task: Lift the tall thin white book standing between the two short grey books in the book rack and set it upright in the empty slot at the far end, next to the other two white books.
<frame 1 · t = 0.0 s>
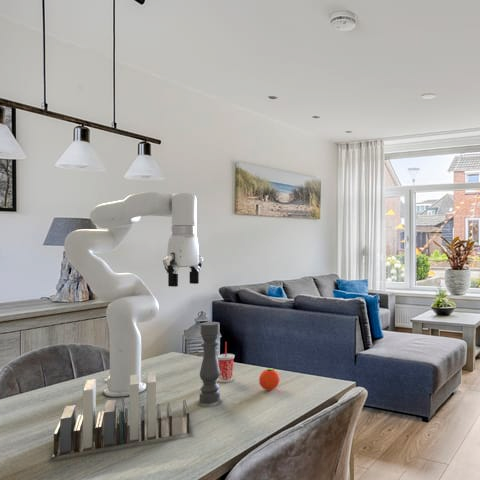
hand: (183, 284, 145), 37 cm above the table, tool pointing down, fingers open, 9 cm apart
white book b: (151, 430, 119), point 1 cm above the table, touching book rack
grey book 2: (110, 437, 114), point 1 cm above the table, touching book rack
white book a: (134, 433, 117), point 1 cm above the table, touching book rack
clementine: (269, 389, 155), on the table
grey book 1: (68, 444, 110), point 1 cm above the table, touching book rack
beverage cup: (225, 380, 164), on the table
book rack: (127, 438, 116), on the table
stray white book: (89, 440, 112), point 1 cm above the table, touching book rack
candle holder: (209, 403, 141), on the table
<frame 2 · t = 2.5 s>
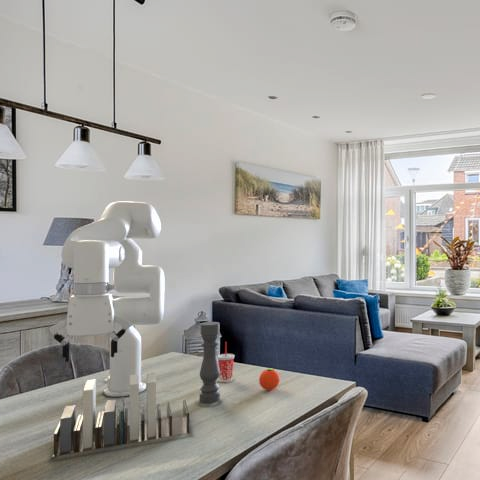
hand: (90, 358, 113), 22 cm above the table, tool pointing down, fingers open, 9 cm apart
nothing on the table moved.
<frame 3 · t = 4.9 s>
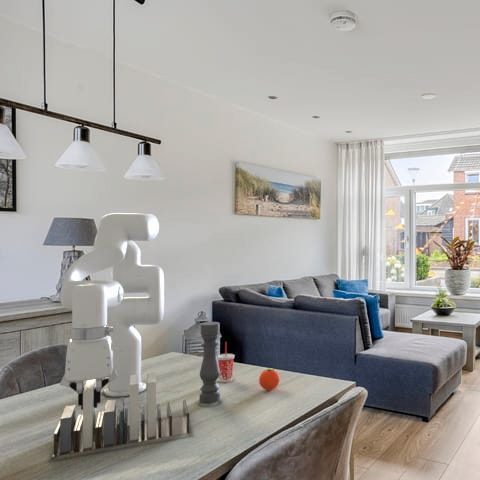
hand: (89, 406, 112), 10 cm above the table, tool pointing down, fingers closed on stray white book, 2 cm apart
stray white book: (89, 440, 112), point 1 cm above the table, touching gripper
everything else where it was.
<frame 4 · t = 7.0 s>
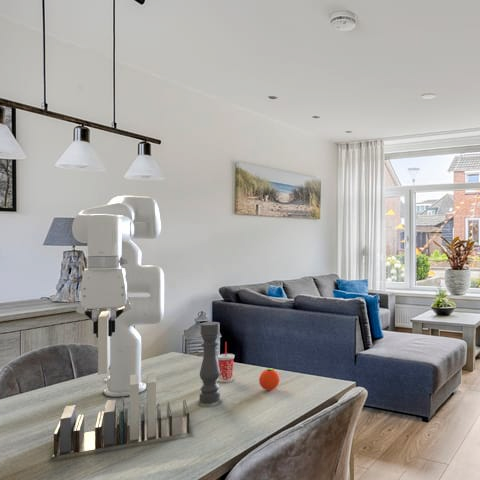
hand: (104, 335, 114), 27 cm above the table, tool pointing down, fingers closed on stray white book
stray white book: (104, 369, 114), point 18 cm above the table, touching gripper
everything else where it was.
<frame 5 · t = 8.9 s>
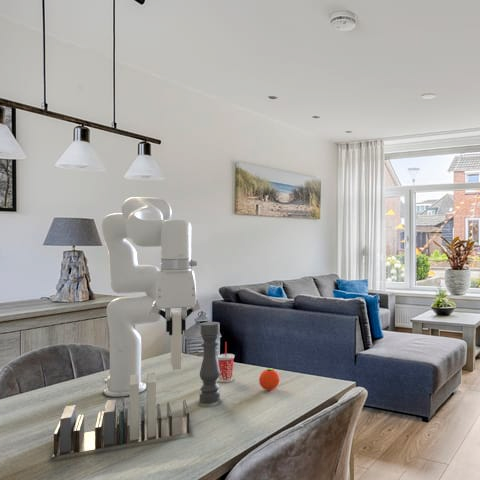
hand: (175, 333, 121), 26 cm above the table, tool pointing down, fingers closed on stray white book
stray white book: (175, 365, 121), point 17 cm above the table, touching gripper
everything else where it was.
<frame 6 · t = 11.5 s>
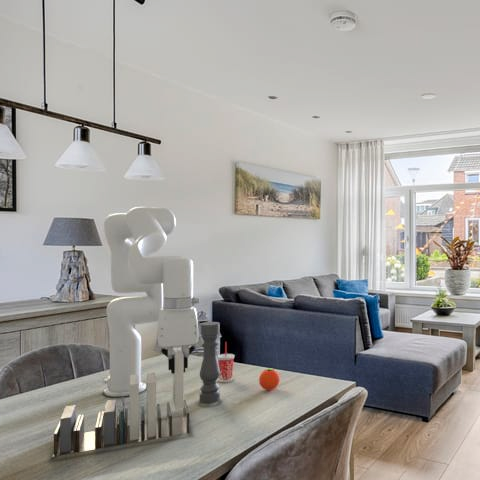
hand: (178, 371, 121), 16 cm above the table, tool pointing down, fingers closed on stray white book
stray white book: (178, 403, 121), point 7 cm above the table, touching gripper
everything else where it was.
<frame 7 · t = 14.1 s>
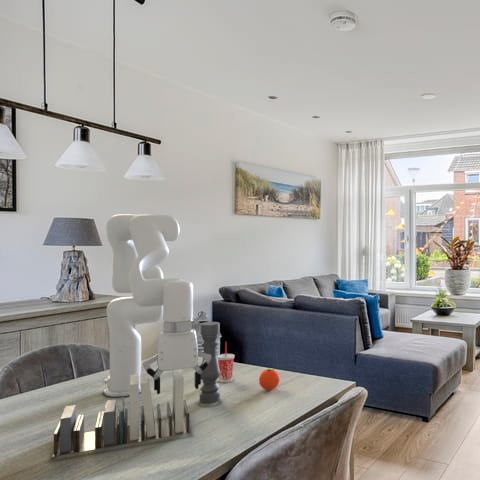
hand: (177, 389, 122), 11 cm above the table, tool pointing down, fingers open, 9 cm apart
white book b: (151, 429, 119), point 1 cm above the table, tilted 7°, touching book rack
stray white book: (177, 426, 121), point 1 cm above the table, touching book rack
everything else where it was.
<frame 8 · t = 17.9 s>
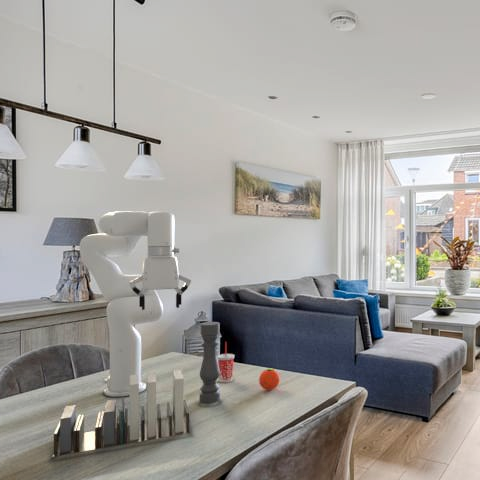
hand: (160, 308, 138), 30 cm above the table, tool pointing down, fingers open, 9 cm apart
white book b: (151, 430, 119), point 1 cm above the table, touching book rack
everything else where it was.
at the end: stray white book 0.1 cm from the target spot on the book rack, point 1.0 cm above the book rack's base; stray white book tilted 0°; the gripper is holding nothing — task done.
